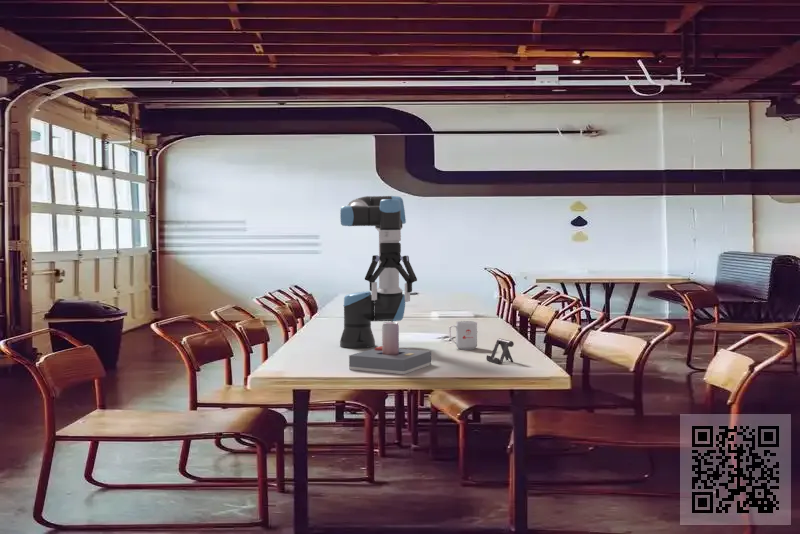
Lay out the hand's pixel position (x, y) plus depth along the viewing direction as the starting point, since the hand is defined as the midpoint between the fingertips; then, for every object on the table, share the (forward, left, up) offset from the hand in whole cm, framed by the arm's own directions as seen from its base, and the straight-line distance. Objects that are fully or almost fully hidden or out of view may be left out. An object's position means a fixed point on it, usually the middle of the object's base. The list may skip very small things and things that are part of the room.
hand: (390, 300), depth 272 cm
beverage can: (0, 0, -23) cm, 23 cm away
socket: (0, 0, -24) cm, 24 cm away
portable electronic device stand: (+32, +28, -24) cm, 49 cm away
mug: (+6, +53, -24) cm, 58 cm away
